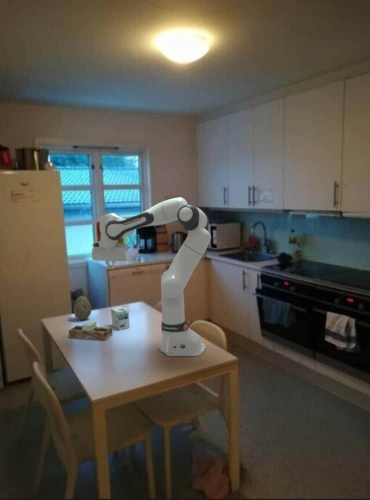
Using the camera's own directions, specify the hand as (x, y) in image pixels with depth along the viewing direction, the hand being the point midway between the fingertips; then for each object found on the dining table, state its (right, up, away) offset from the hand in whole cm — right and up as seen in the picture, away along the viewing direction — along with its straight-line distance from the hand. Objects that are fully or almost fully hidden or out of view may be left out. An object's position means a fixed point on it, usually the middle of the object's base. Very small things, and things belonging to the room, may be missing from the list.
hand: (110, 268), depth 207 cm
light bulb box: (+2, -35, +18) cm, 39 cm away
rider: (-12, -35, +4) cm, 37 cm away
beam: (-12, -37, +4) cm, 39 cm away
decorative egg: (-24, -33, +33) cm, 52 cm away
